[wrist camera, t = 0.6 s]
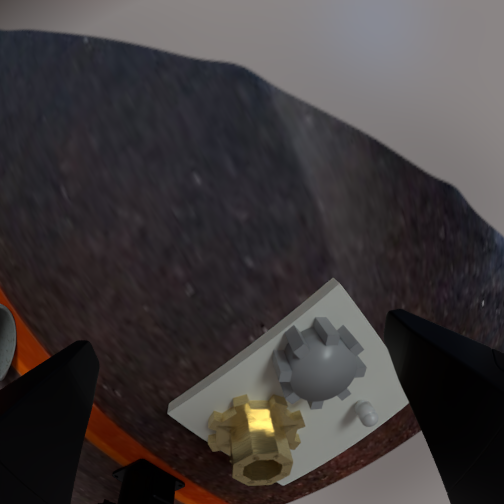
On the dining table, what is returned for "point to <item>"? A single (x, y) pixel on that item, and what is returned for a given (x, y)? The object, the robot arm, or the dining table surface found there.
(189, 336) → the dining table surface
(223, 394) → the carrier
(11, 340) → the ceramic mug
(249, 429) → the gear
